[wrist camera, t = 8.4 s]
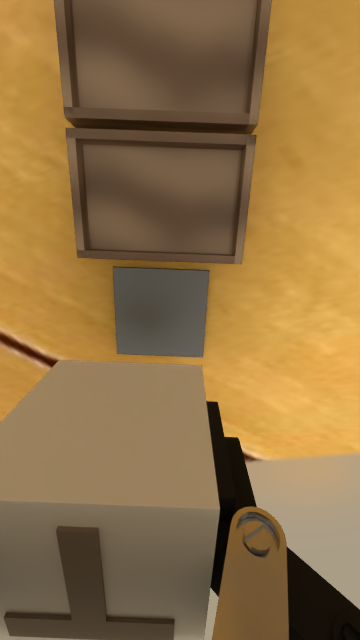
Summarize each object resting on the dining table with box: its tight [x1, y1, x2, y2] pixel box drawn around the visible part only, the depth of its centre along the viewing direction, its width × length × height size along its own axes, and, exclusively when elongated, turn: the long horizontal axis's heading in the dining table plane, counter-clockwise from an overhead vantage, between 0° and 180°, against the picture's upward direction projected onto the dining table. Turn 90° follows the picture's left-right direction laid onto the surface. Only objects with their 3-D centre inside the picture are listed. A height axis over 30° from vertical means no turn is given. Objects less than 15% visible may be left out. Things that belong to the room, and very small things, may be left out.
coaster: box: [113, 267, 209, 357], centre depth 24 cm, size 8×8×1 cm
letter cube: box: [0, 360, 220, 640], centre depth 8 cm, size 6×6×6 cm
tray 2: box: [66, 128, 256, 264], centre depth 21 cm, size 9×13×2 cm
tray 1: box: [54, 0, 272, 134], centre depth 17 cm, size 9×13×2 cm
